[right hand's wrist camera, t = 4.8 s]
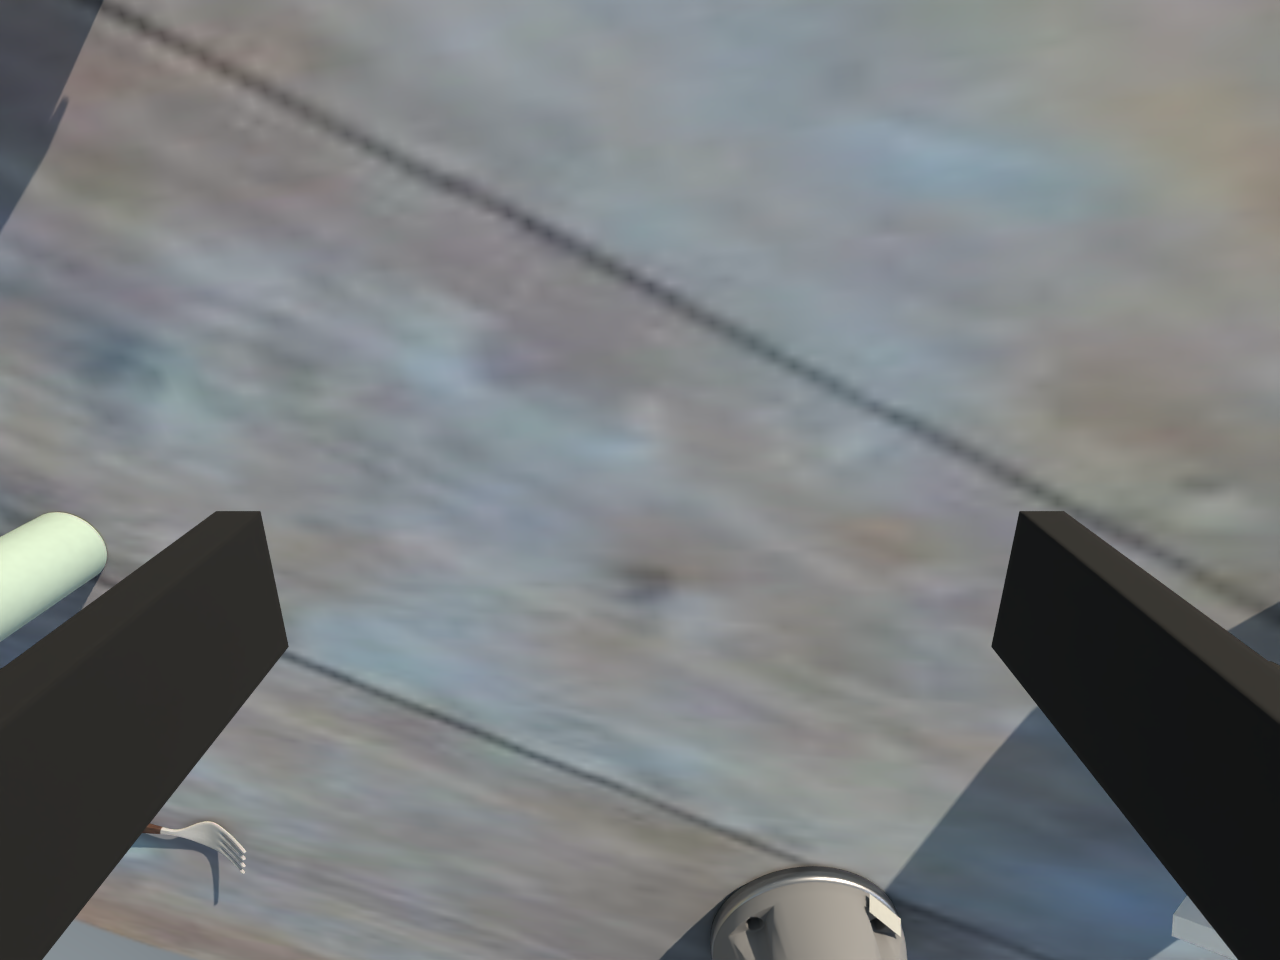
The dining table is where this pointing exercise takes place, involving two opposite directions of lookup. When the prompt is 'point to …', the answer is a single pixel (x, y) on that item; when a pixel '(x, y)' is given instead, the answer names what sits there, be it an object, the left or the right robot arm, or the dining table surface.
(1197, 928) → the white plastic object
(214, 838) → the fork
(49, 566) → the bottle
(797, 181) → the dining table surface
